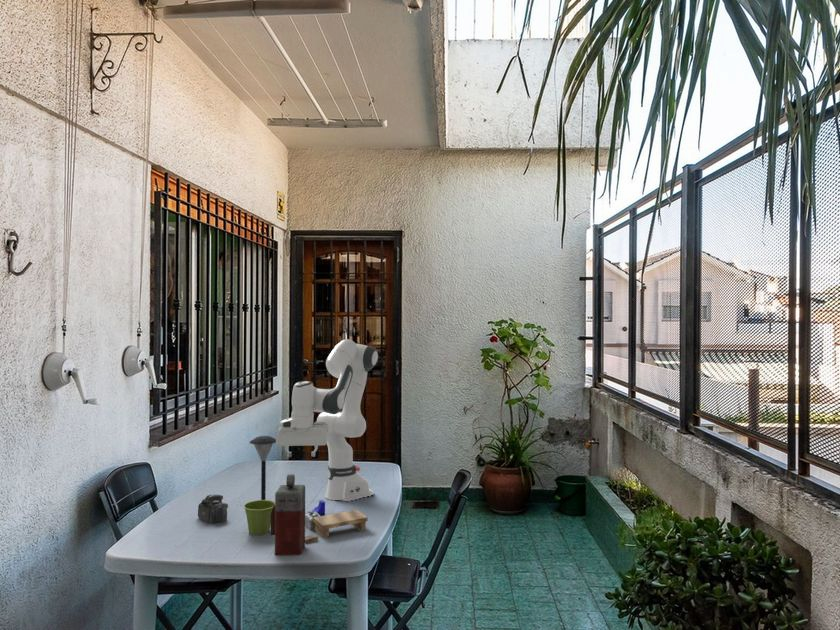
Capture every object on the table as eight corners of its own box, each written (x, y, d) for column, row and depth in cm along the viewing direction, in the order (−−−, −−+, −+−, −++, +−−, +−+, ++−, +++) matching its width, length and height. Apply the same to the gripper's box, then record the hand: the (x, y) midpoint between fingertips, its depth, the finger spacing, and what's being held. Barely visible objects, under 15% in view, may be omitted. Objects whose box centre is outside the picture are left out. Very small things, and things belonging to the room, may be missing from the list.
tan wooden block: (313, 542, 213) (313, 534, 213) (318, 544, 211) (318, 536, 211) (301, 545, 210) (301, 537, 210) (305, 548, 208) (305, 539, 208)
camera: (234, 518, 238) (234, 493, 238) (218, 526, 229) (218, 500, 229) (207, 514, 242) (207, 490, 242) (190, 522, 233) (191, 497, 233)
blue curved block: (321, 513, 245) (321, 499, 245) (325, 516, 241) (325, 502, 241) (293, 517, 239) (293, 503, 239) (296, 521, 235) (296, 506, 235)
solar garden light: (270, 512, 245) (270, 441, 245) (243, 510, 247) (243, 439, 247) (282, 503, 257) (283, 435, 257) (256, 501, 259) (257, 434, 259)
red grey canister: (272, 550, 205) (273, 471, 205) (305, 550, 205) (305, 471, 205) (267, 561, 196) (268, 478, 196) (301, 560, 196) (301, 478, 197)
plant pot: (258, 542, 212) (258, 511, 212) (236, 536, 218) (236, 506, 218) (282, 532, 222) (282, 503, 222) (260, 526, 228) (260, 497, 228)
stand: (356, 524, 231) (356, 509, 231) (367, 533, 222) (367, 517, 222) (313, 533, 222) (313, 517, 222) (322, 542, 213) (322, 525, 213)
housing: (316, 524, 232) (316, 509, 232) (322, 530, 225) (322, 515, 225) (303, 526, 229) (303, 511, 229) (310, 533, 222) (310, 517, 222)
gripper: (328, 420, 240) (327, 454, 239) (277, 421, 236) (276, 455, 235) (328, 423, 233) (327, 457, 233) (276, 423, 230) (275, 458, 229)
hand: (301, 456), depth 234 cm, fingers open, 8 cm apart
